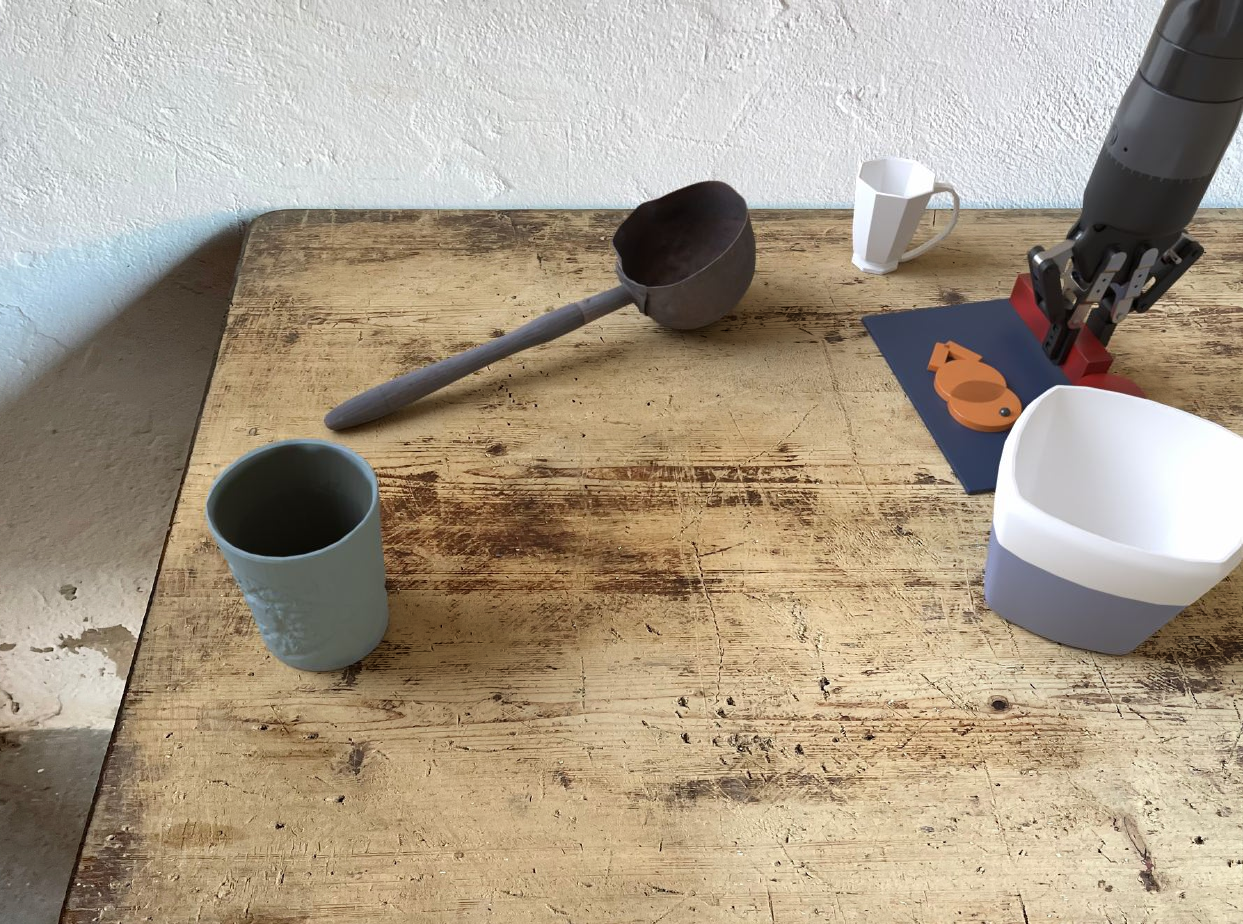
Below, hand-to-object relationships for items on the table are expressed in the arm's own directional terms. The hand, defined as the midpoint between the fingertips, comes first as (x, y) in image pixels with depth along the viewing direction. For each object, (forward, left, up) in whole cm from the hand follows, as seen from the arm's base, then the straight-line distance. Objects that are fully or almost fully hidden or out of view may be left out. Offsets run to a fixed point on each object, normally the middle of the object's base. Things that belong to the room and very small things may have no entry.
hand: (1069, 356), depth 90 cm
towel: (+5, 0, -2) cm, 5 cm away
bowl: (+10, +21, -3) cm, 23 cm away
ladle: (+41, -11, -3) cm, 42 cm away
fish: (+8, 0, -2) cm, 8 cm away
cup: (+7, -19, -3) cm, 20 cm away
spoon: (0, +1, 0) cm, 1 cm away
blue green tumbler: (+61, +14, -3) cm, 63 cm away
